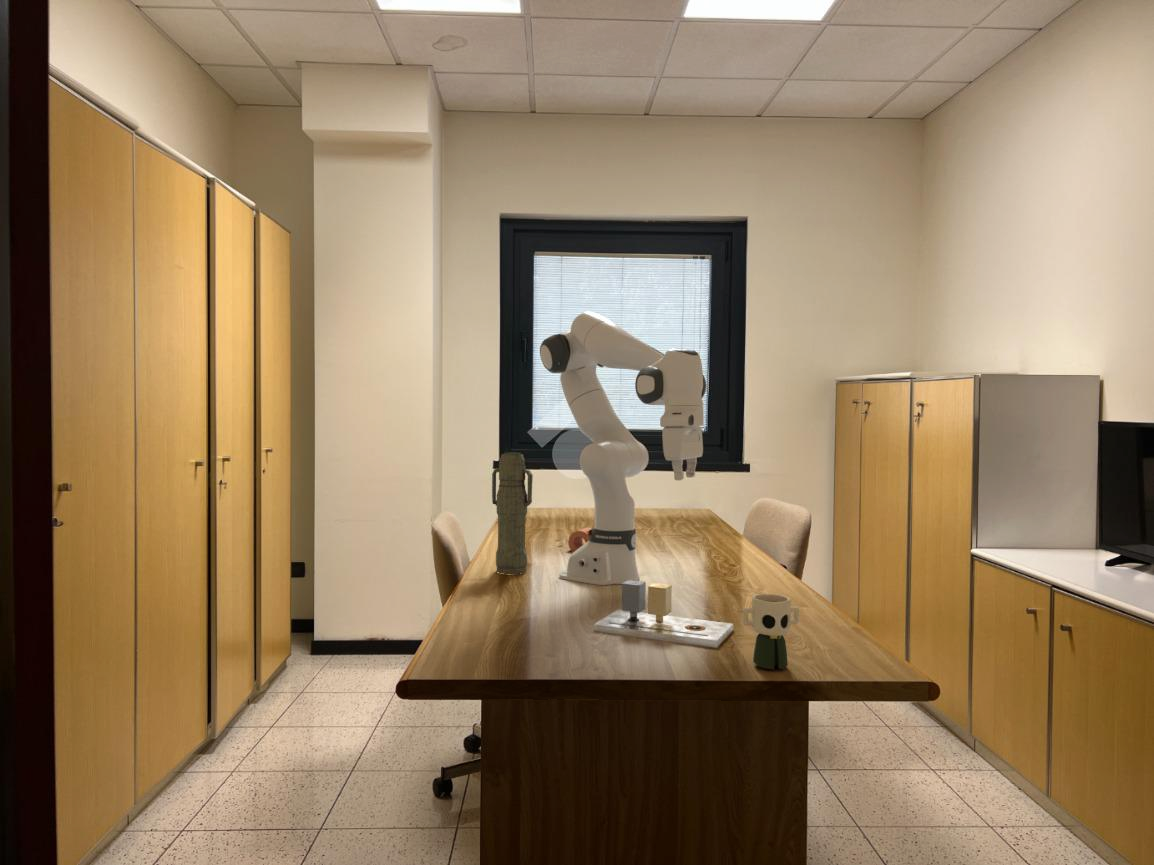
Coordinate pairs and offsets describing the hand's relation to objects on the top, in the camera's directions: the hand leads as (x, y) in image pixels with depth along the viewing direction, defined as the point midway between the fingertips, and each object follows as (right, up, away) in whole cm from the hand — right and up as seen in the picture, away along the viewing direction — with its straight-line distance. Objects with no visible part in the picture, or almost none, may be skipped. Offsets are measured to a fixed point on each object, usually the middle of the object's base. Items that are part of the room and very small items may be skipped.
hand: (684, 478), depth 183 cm
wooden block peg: (-7, -30, -11) cm, 33 cm away
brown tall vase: (-44, -30, +47) cm, 71 cm away
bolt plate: (-6, -32, -11) cm, 35 cm away
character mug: (+11, -33, -34) cm, 49 cm away
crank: (-17, -30, +80) cm, 87 cm away
